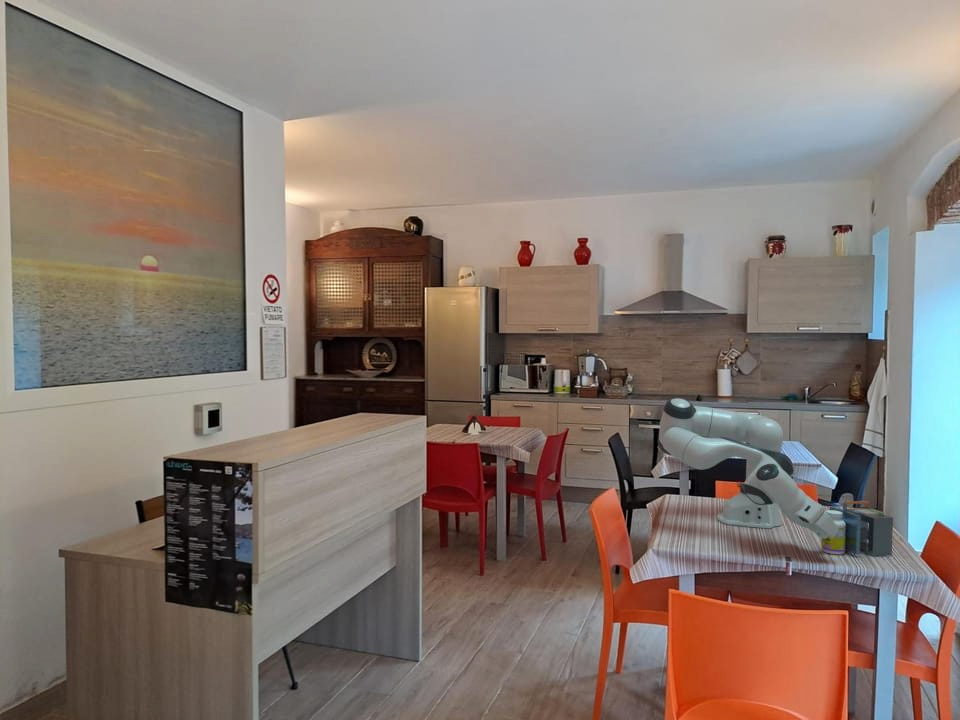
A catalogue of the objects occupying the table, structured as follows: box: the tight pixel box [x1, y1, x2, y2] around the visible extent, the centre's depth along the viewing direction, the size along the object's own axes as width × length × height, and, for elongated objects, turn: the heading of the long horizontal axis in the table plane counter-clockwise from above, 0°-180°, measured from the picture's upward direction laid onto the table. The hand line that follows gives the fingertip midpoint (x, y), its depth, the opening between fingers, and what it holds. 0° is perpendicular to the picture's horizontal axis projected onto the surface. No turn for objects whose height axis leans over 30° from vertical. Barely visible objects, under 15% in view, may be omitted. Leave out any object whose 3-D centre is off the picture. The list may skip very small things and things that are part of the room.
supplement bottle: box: [820, 509, 846, 556], centre depth 214 cm, size 7×7×13 cm
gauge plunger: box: [829, 500, 870, 555], centre depth 216 cm, size 10×12×15 cm
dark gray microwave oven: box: [847, 507, 894, 557], centre depth 217 cm, size 7×12×13 cm, turn 12°
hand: (823, 536), depth 213 cm, fingers closed, pressing on supplement bottle
